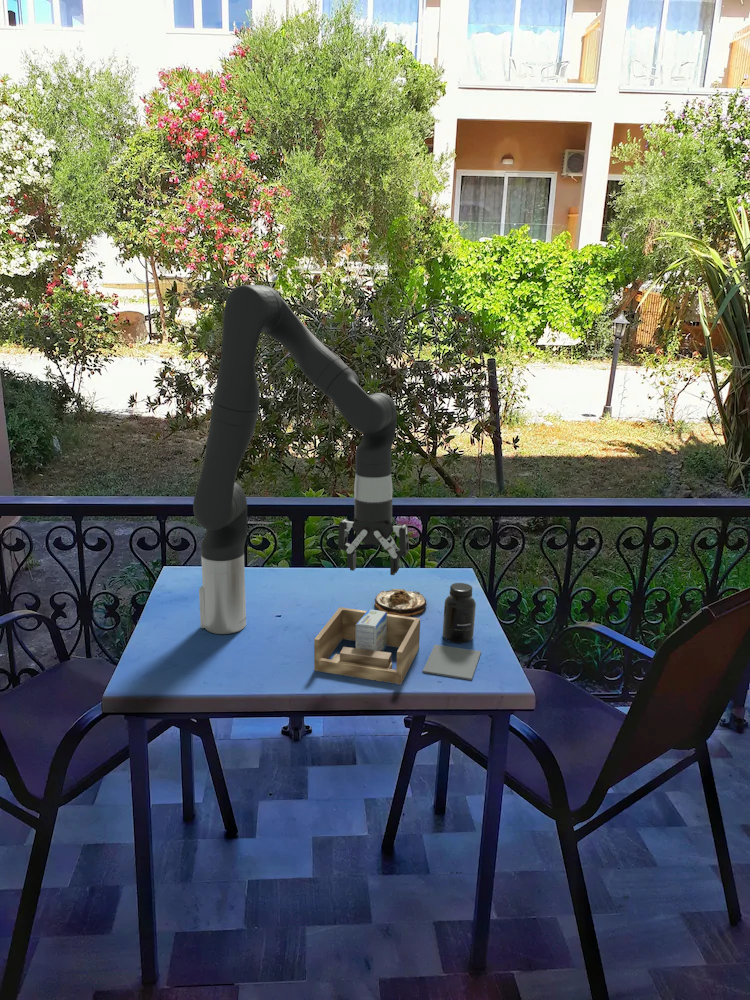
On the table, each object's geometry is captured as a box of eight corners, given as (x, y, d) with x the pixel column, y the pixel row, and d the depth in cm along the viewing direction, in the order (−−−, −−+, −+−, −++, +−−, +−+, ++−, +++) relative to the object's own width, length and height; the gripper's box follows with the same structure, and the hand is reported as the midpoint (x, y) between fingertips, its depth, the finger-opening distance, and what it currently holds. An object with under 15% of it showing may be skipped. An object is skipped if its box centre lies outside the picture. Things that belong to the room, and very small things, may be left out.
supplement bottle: (461, 647, 173) (464, 595, 170) (436, 637, 177) (438, 587, 174) (479, 636, 178) (482, 586, 175) (454, 627, 182) (457, 578, 179)
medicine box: (375, 665, 165) (376, 626, 162) (354, 661, 166) (355, 623, 163) (386, 648, 172) (387, 611, 169) (366, 645, 173) (367, 608, 171)
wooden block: (330, 669, 163) (330, 651, 161) (336, 661, 166) (336, 644, 164) (388, 678, 160) (388, 660, 158) (392, 670, 163) (392, 653, 161)
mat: (422, 672, 162) (422, 670, 162) (434, 646, 173) (434, 644, 173) (471, 680, 160) (471, 678, 159) (480, 653, 171) (481, 651, 171)
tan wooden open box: (314, 670, 162) (314, 639, 160) (339, 636, 177) (339, 607, 175) (400, 684, 157) (401, 652, 155) (419, 648, 172) (420, 618, 170)
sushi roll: (426, 624, 184) (427, 607, 183) (363, 616, 188) (363, 600, 186) (436, 599, 198) (437, 583, 197) (377, 592, 201) (378, 577, 200)
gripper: (333, 497, 157) (334, 574, 162) (403, 503, 154) (402, 582, 158) (345, 487, 164) (345, 561, 169) (412, 493, 161) (411, 568, 165)
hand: (373, 571), depth 164 cm, fingers open, 8 cm apart
